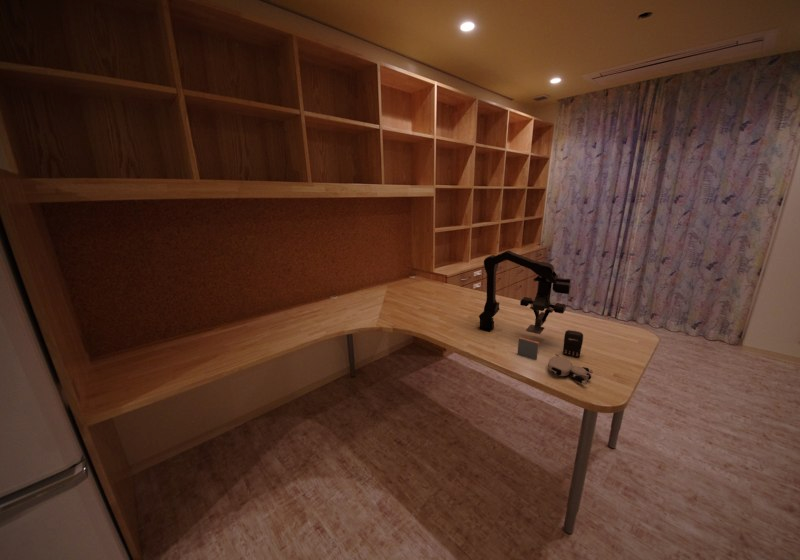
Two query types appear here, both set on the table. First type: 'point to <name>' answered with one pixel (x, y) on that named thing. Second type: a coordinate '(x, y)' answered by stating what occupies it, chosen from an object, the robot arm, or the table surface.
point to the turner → (537, 324)
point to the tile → (528, 348)
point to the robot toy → (568, 369)
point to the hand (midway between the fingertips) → (540, 321)
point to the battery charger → (572, 343)
